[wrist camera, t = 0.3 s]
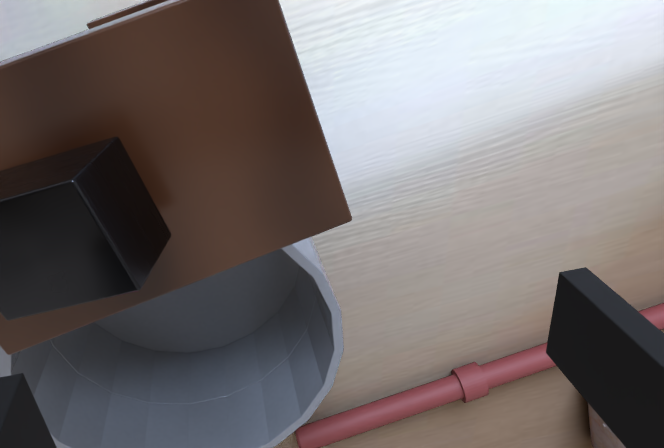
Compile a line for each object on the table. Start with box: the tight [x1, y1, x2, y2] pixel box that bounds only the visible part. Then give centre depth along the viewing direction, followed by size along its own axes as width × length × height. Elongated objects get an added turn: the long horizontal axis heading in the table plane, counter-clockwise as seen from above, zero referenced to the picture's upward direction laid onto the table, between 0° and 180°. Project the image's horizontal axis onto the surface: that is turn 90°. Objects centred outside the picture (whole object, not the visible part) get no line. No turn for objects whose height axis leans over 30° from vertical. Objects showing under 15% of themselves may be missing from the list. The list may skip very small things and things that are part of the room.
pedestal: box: [0, 0, 352, 355], centre depth 25 cm, size 12×8×21 cm, turn 108°
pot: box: [0, 237, 344, 448], centre depth 35 cm, size 18×18×12 cm
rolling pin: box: [295, 303, 664, 448], centre depth 51 cm, size 45×3×3 cm, turn 103°
